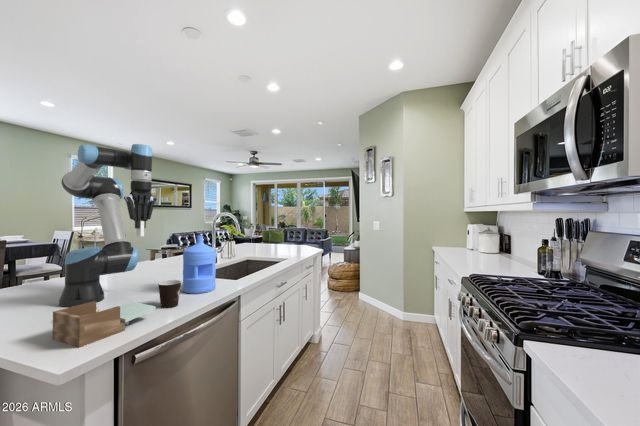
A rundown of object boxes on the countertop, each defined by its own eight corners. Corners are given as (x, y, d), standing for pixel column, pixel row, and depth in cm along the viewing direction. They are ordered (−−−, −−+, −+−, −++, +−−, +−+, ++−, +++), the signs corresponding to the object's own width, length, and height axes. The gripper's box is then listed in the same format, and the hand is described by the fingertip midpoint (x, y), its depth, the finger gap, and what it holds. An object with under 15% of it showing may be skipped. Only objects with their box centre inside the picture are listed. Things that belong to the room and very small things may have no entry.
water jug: (189, 286, 149) (189, 234, 149) (218, 285, 151) (219, 234, 151) (177, 294, 134) (178, 237, 134) (210, 294, 135) (211, 237, 135)
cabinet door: (125, 319, 93) (155, 306, 103) (100, 313, 98) (131, 301, 108) (125, 325, 93) (155, 312, 104) (100, 319, 98) (131, 307, 109)
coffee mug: (170, 310, 113) (171, 285, 113) (152, 308, 114) (153, 284, 114) (189, 301, 124) (190, 279, 124) (173, 299, 126) (173, 277, 126)
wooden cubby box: (52, 338, 86) (52, 311, 86) (98, 323, 98) (99, 299, 98) (79, 347, 81) (79, 318, 81) (124, 330, 93) (125, 305, 93)
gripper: (131, 179, 110) (130, 237, 111) (161, 182, 122) (160, 235, 123) (119, 179, 113) (118, 236, 113) (150, 182, 125) (148, 234, 125)
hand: (140, 236), depth 118 cm, fingers closed
